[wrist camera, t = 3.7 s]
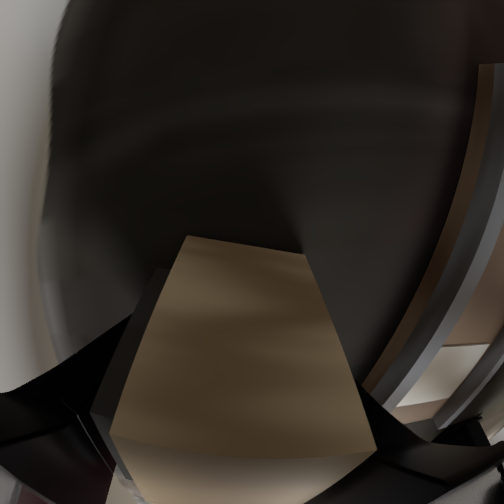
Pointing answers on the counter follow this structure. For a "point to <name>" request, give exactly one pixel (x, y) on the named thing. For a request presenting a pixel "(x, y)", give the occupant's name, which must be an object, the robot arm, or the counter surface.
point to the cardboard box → (232, 383)
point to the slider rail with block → (456, 287)
